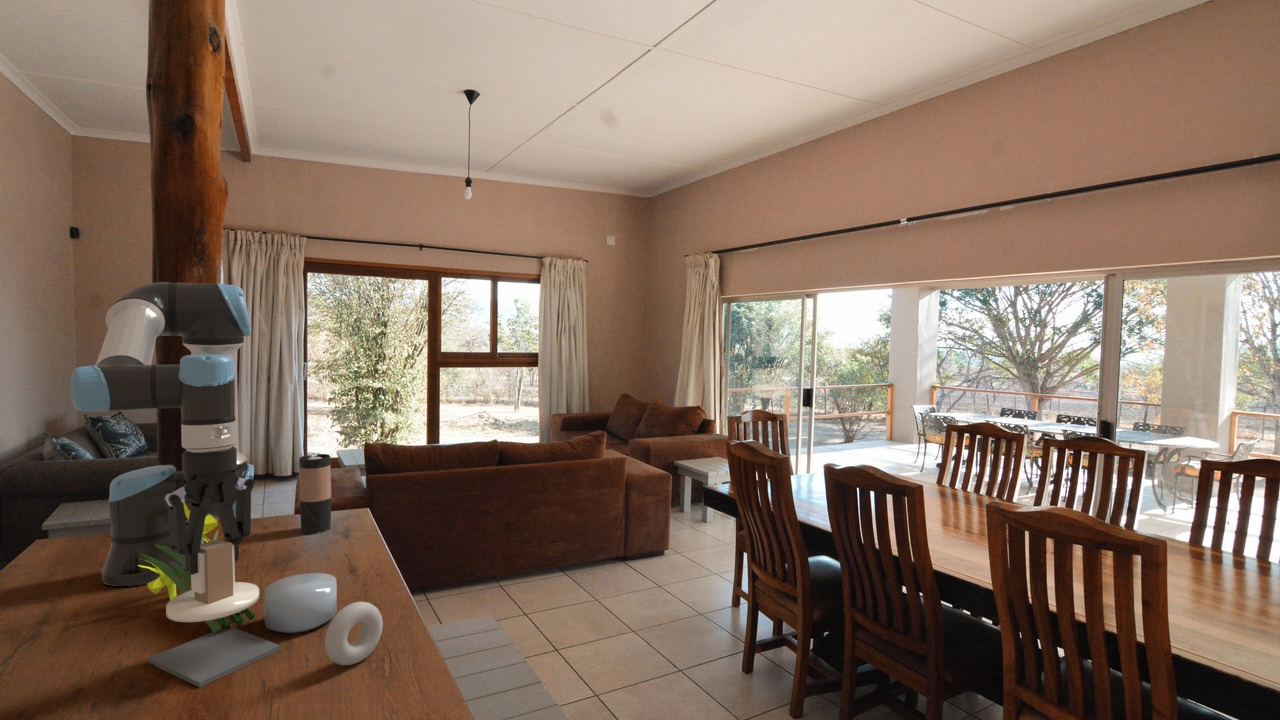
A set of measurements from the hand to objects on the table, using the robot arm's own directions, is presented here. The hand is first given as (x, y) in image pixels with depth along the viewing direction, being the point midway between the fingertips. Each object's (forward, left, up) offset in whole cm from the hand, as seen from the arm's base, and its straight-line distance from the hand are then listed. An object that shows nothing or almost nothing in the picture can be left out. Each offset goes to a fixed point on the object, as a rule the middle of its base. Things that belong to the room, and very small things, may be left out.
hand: (213, 586), depth 108 cm
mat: (0, 0, -12) cm, 12 cm away
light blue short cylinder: (+1, +15, -12) cm, 19 cm away
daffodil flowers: (-20, +10, -12) cm, 25 cm away
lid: (0, 0, -3) cm, 3 cm away
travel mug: (-45, +51, -12) cm, 69 cm away
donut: (+22, +10, -12) cm, 27 cm away
